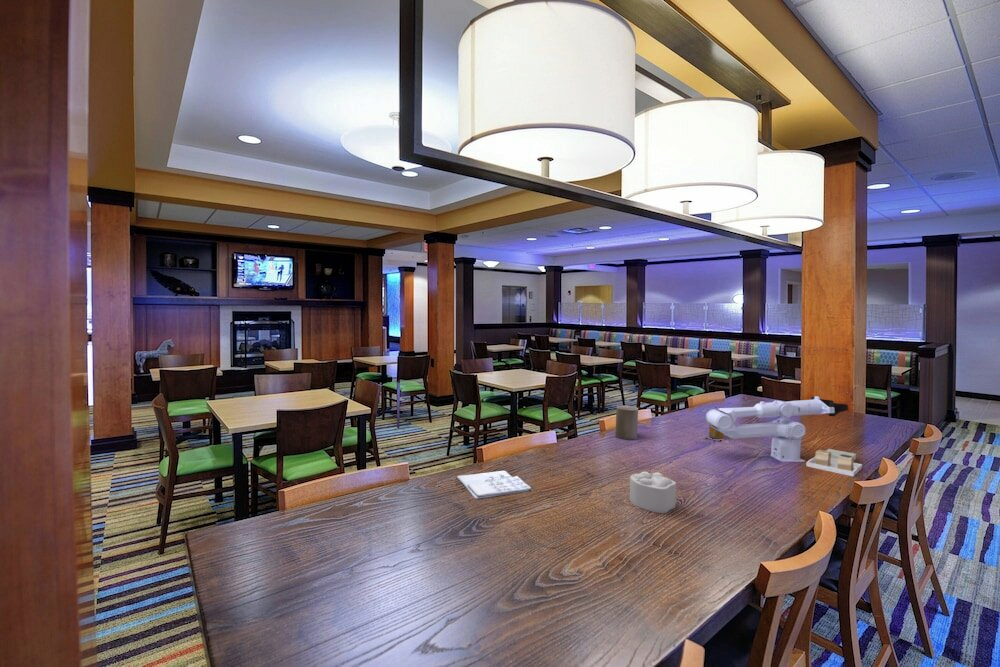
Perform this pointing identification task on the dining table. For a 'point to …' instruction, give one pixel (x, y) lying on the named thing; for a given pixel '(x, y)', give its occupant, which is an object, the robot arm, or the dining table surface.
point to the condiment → (715, 433)
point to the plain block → (823, 458)
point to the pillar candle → (626, 422)
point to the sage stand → (836, 453)
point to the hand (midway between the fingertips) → (839, 405)
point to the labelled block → (845, 462)
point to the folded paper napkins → (492, 484)
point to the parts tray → (834, 467)
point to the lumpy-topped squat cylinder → (652, 492)
